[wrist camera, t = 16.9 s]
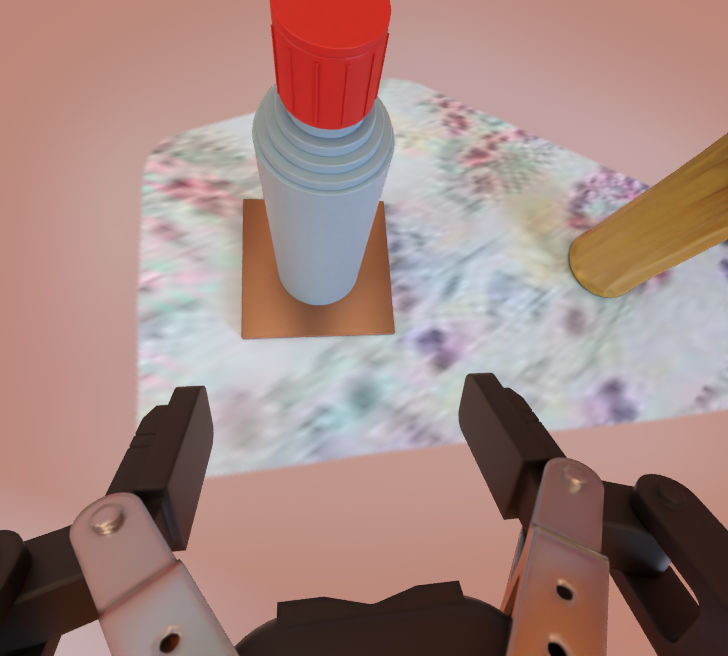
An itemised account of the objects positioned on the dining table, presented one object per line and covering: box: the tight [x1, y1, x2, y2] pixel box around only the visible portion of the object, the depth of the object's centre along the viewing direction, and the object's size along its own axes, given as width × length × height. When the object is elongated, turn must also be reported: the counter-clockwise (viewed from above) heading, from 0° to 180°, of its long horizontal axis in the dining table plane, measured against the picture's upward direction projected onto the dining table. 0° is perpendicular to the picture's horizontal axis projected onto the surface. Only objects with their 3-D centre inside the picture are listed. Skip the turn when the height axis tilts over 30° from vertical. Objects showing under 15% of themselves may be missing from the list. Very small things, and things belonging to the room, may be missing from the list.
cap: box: [270, 0, 391, 130], centre depth 13 cm, size 4×4×3 cm
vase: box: [570, 133, 728, 298], centre depth 28 cm, size 6×6×14 cm
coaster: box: [241, 199, 395, 339], centre depth 31 cm, size 11×11×1 cm
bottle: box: [252, 84, 394, 305], centre depth 21 cm, size 6×6×19 cm
